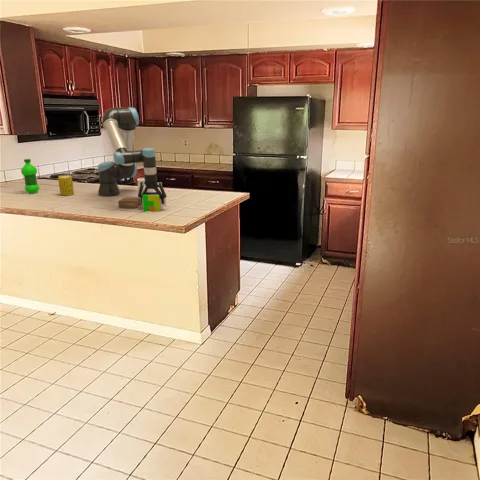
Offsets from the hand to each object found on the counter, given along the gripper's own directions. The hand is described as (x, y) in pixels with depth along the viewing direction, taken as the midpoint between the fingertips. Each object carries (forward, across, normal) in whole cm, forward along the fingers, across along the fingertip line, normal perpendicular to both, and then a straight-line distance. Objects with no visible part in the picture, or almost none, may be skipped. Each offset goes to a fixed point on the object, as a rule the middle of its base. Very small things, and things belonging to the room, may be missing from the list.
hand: (153, 208), depth 267 cm
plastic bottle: (+1, -110, +29) cm, 114 cm away
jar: (+1, -15, +23) cm, 28 cm away
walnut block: (+1, -18, +6) cm, 19 cm away
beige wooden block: (+1, +1, +12) cm, 12 cm away
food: (+1, -80, +28) cm, 85 cm away
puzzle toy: (+1, 0, 0) cm, 1 cm away
